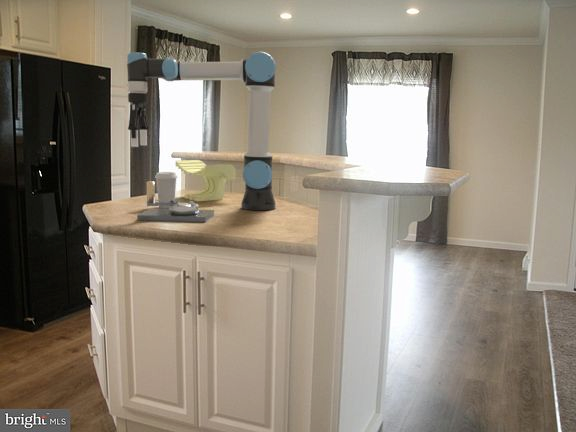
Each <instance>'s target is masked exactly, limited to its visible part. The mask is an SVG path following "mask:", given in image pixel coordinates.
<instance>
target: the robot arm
mask: <svg viewBox="0 0 576 432" xmlns="http://www.w3.org/2000/svg"><path fill="white" fill-rule="evenodd" d="M126 59H127V62H126V69H127V71H126V72H127V84H126V86H127V92H129V93H127V94H128V95H127V96H128V97H127V98H128V99H127V100H128V103H131V104H130V109H129V110H130V112H129V120H128V127H127V129H128V130H129V131H130V147H131V148H139V145H140V146H148V136H147V135H148V131H149V125H148V118H147V116H148V115H147V111H146V110H147V108H146V107H147V106H146V105H144V104H147V103H148V101H149V100H148V99H149V98H148V95H149V94H148V78H149V79H162V80H165V81H166V82H175V81H240V82H242V83H245V88H246V89H247V90H248V92H249V93H248V128H247V129H248V137H247V138H248V139H247V140H248V141H247V151H246V152H245V153H244V154H243V155H244V156H243V170H242V179H243V181H244V183H245V191H244V194H243V196H242V197H243V198H242V199H241V203H240V206H241V209H243V210H246V211H247V210H248V211H271V210H274V209H275V210H276V205H277V204H276V201H275V200H276V199H275V196H274V193H273V155H272V154H271V153H270V129H271V128H270V127H271V126H270V125H271V124H270V123H271V98H272V97H271V95H272V94H271V93H272V91H273V90H274V89H275V84H276V80H275V79H276V68H277V67H276V66H277V65H276V61H275V59H274V58H273V57H272V56H271V54H269V53H267V52H264V51H256V52H253V53H252V54H250V55H249V56H248V58H244V59H243V58H242V59H241V60H240V61H177V60H176V59H174V58H168V57H167V58H148V56H147V53H144V52H135V51H134V52H133V51H132V52H129V53H128V54H127V58H126ZM138 126H139V128H140V129H139V130H138Z"/></svg>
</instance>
